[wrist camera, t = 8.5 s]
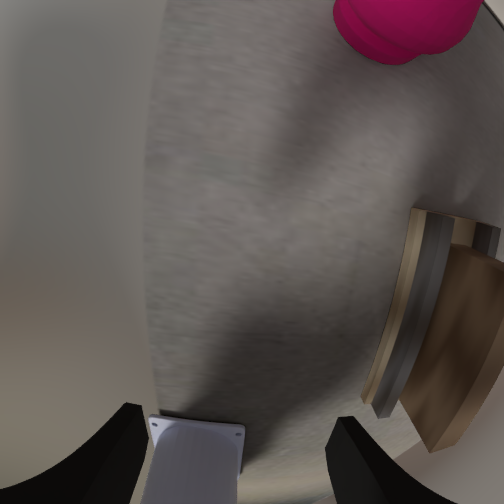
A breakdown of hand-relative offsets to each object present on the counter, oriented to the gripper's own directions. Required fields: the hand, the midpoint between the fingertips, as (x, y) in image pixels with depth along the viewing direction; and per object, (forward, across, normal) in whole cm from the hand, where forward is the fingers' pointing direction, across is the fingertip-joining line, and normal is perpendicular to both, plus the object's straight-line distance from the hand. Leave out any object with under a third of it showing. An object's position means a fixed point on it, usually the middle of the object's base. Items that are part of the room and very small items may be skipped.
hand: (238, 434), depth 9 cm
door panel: (+8, -14, 0) cm, 16 cm away
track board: (+9, -14, 0) cm, 16 cm away
